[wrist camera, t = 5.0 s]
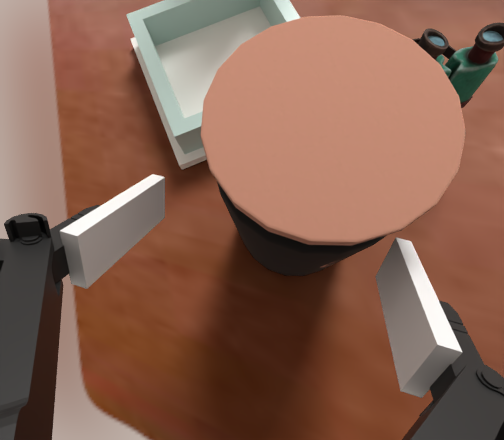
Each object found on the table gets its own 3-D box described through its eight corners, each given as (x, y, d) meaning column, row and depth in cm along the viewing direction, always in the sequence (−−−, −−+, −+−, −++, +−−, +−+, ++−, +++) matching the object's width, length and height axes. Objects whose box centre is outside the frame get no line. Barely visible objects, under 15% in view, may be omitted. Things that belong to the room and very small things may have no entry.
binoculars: (493, -35, 24) (543, 50, 20) (428, 71, 33) (453, 141, 30) (385, -25, 24) (415, 60, 20) (351, 77, 34) (367, 147, 30)
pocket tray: (337, 106, 32) (348, 76, 28) (181, 169, 31) (167, 149, 27) (269, -7, 37) (269, -47, 33) (133, 45, 36) (115, 11, 32)
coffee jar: (318, 297, 27) (408, 300, 9) (221, 245, 29) (149, 167, 11) (362, 203, 29) (503, 63, 12) (270, 160, 31) (272, -16, 13)
